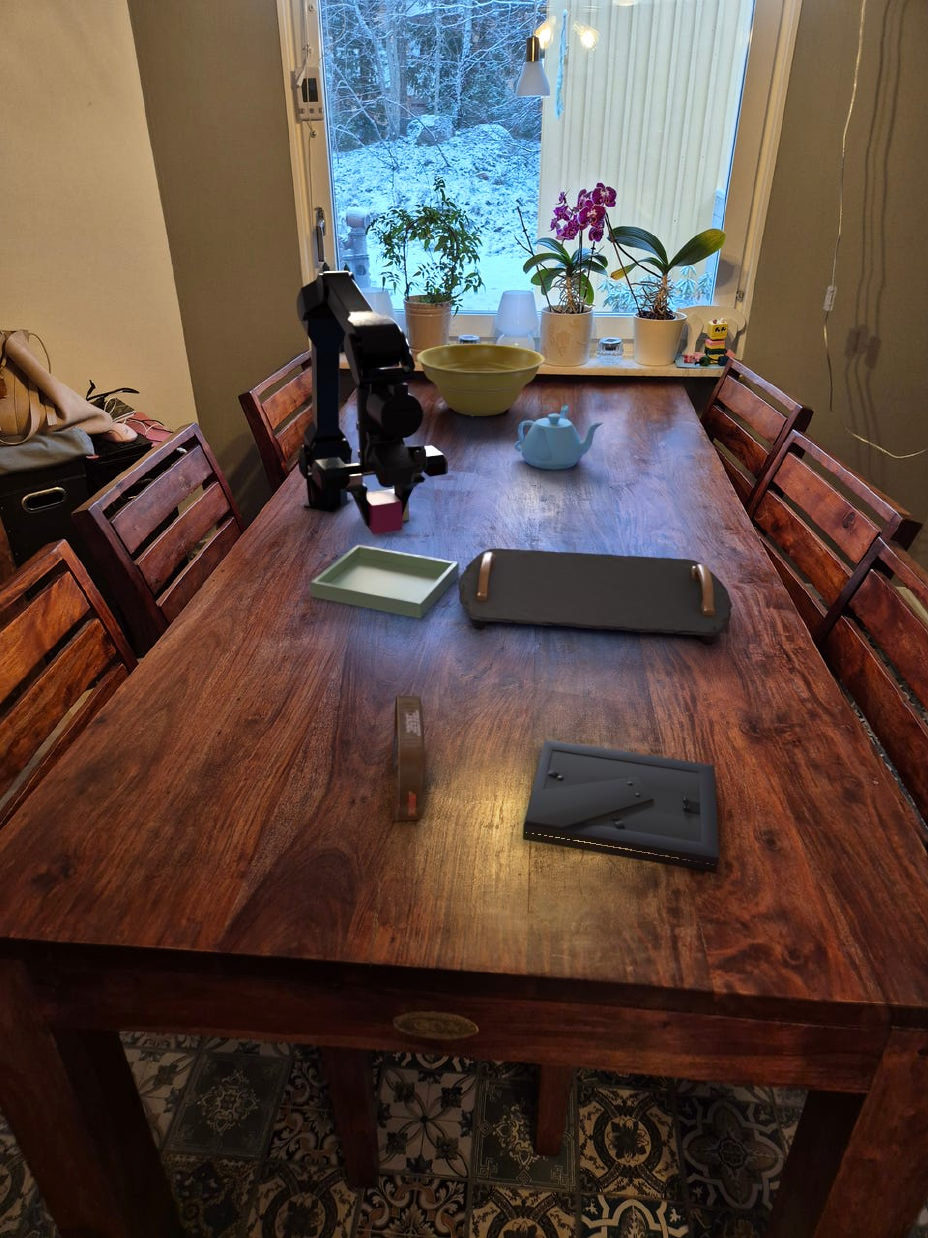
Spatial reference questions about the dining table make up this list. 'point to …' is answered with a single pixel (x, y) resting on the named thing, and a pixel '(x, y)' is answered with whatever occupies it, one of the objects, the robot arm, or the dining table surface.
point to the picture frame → (625, 805)
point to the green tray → (386, 580)
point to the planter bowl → (480, 375)
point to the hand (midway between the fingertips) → (382, 523)
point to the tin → (408, 758)
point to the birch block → (406, 512)
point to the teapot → (553, 442)
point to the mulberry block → (384, 512)
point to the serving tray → (595, 592)
